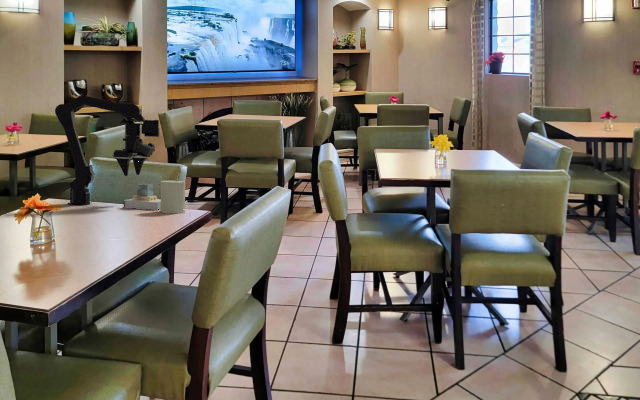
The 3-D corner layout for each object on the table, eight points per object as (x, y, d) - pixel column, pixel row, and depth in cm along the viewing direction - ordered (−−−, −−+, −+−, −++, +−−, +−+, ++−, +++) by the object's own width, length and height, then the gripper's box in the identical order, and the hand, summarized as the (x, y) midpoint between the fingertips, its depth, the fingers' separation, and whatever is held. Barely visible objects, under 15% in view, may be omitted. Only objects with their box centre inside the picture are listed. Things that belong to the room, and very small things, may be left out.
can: (188, 211, 227) (189, 180, 225) (180, 214, 217) (181, 181, 216) (165, 210, 227) (165, 178, 226) (156, 212, 218) (156, 180, 217)
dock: (123, 207, 228) (123, 199, 228) (138, 205, 239) (138, 197, 239) (157, 210, 225) (157, 202, 225) (170, 207, 236) (170, 199, 236)
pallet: (132, 199, 230) (133, 184, 229) (140, 198, 236) (140, 183, 235) (149, 200, 228) (149, 185, 228) (156, 199, 234) (157, 184, 234)
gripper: (139, 136, 224) (138, 177, 226) (162, 137, 243) (161, 175, 244) (112, 135, 227) (112, 176, 228) (137, 136, 245) (136, 174, 246)
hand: (132, 175), depth 237 cm, fingers open, 9 cm apart
